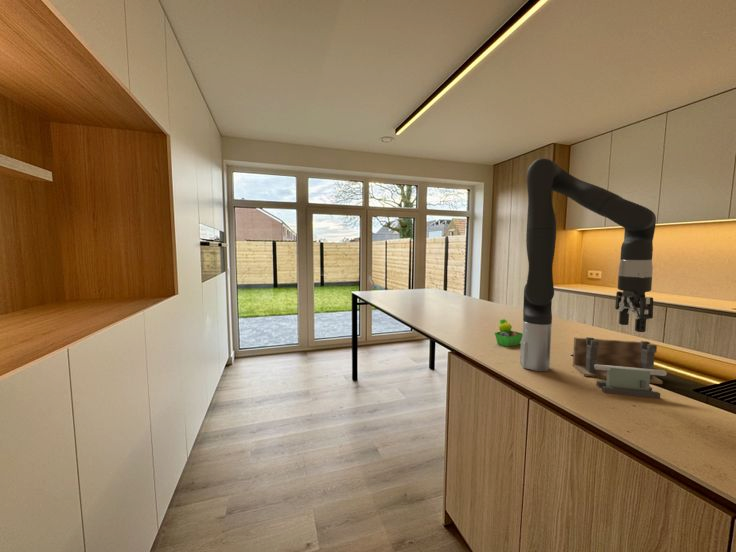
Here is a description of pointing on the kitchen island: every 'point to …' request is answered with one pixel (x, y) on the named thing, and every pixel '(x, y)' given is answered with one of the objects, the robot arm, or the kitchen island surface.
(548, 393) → the kitchen island surface
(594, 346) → the cabinet frame
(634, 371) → the door
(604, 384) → the door rack
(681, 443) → the kitchen island surface
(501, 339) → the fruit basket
